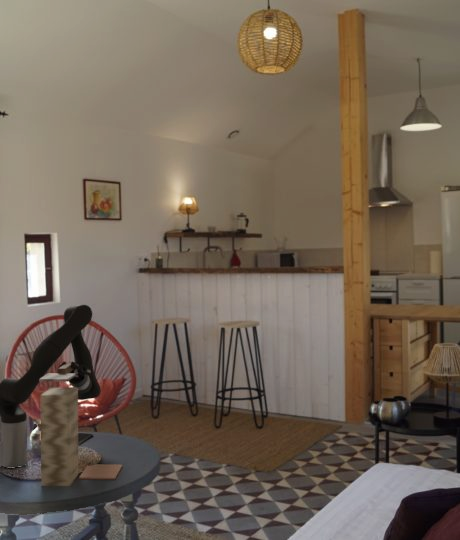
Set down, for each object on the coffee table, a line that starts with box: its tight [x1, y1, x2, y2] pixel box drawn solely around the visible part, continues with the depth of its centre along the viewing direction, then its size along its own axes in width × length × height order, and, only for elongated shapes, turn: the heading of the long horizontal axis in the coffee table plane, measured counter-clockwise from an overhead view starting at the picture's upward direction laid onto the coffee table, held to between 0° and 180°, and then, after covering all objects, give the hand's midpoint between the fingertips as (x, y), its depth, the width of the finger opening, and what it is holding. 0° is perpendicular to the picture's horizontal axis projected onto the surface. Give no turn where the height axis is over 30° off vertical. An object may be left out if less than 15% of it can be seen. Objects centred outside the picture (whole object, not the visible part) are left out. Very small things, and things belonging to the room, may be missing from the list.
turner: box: [39, 361, 76, 383], centre depth 239 cm, size 10×23×2 cm, turn 178°
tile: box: [78, 463, 123, 480], centre depth 244 cm, size 13×14×1 cm
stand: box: [39, 387, 80, 487], centre depth 235 cm, size 10×12×32 cm
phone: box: [78, 432, 94, 447], centre depth 283 cm, size 8×1×15 cm
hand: (67, 363), depth 245 cm, fingers closed on turner, 2 cm apart
